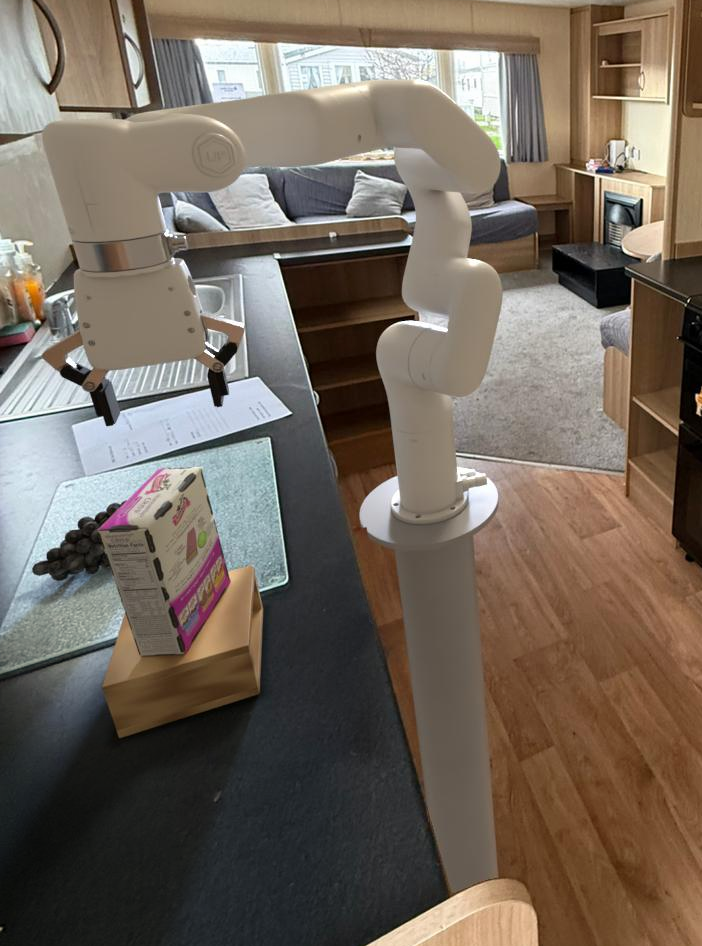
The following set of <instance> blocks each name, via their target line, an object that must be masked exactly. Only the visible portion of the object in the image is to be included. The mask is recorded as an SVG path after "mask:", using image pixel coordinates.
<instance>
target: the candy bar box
mask: <svg viewBox="0 0 702 946" xmlns="http://www.w3.org/2000/svg"><path fill="white" fill-rule="evenodd" d="M126 500H127V501H126V502H125V503H124V504H123V505H122V506H121V507H120V508H119V509H118V510H117V511H116V512H115V513H114V514H113V515H112V516H111V517H110V518H109V519H108V520H107V521H106V522H105V523H104V524H103V525H102V526H101V527H100V528H99V529H98V530H97V531H98V533H99V536H100V539H101V542H102V545H103V548H104V551H105V554H106V557H107V560H108V563H109V566H110V567H109V569H110V571H111V575H112V578H113V581H114V584H115V586H116V588H117V592H118V595H119V598H120V601H121V602H120V603H121V604H122V607H123V610H124V614H125V613H126V616H127V619H128V622H129V625H130V628H131V631H132V634H133V637H134V640H135V643H136V646H137V649H138V652H139V655H140V656H141V657H154V656H163V655H181V654H185V653H186V652H187V651H188V649H189V648H190V646H191V645H192V643H193V641H194V640H195V638H196V637H197V635H198V633H199V632H200V630H201V628H202V627H203V625H204V624H205V622H206V620H207V619H208V617H209V615H210V614H211V612H212V611H213V609H214V608H215V606H216V604H217V603H218V601H219V600H220V598H221V597H222V595H223V593H224V592H225V590H226V589H227V587H228V586H229V584H230V582H231V580H230V578H229V574H228V571H229V569H228V566H227V562H226V558H225V554H224V551H223V546H222V543H221V540H220V535H219V531H218V527H217V524H216V520H215V519H216V518H215V514H214V511H213V508H212V503H211V500H210V496H209V492H208V489H207V484H206V481H205V477H204V473H203V467H202V466H189V467H188V466H187V467H173V468H172V467H162V468H158V469H157V470H156V471H154V473H152V475H151V476H150V477H149V478H148V479H147V480H146V481H144V483H143V484H142V485H141V486H140V487H139V488H138V489H136V491H135V492H134V493H133V494H132V495H131V496H130V497H129V498H128V499H126Z"/></svg>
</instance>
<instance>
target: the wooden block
mask: <svg viewBox="0 0 702 946" xmlns="http://www.w3.org/2000/svg"><path fill="white" fill-rule="evenodd" d="M228 574H229V578H230V580H231V582H230V584H229V586H228V587H227V589H226V590H225V592H224V593H223V595H222V597H221V598H220V600H219V601H218V603H217V604H216V606H215V608H214V609H213V611H212V612H211V614H210V615H209V617H208V619H207V620H206V622H205V624H204V625H203V627H202V628H201V630H200V632H199V633H198V635H197V637H196V638H195V640H194V641H193V643H192V645H191V646H190V648H189V649H188V651H187V652H186V653H185V654H181V655H163V656H154V657H141V656H140V655H139V652H138V649H137V646H136V643H135V640H134V637H133V634H132V631H131V628H130V625H129V622H128V619H127V616H126V613H125V612H124V615H123V617H122V621H121V625H120V628H119V631H118V634H117V638H116V640H115V644H114V647H113V651H112V653H111V656H110V657H111V658H110V660H109V663H108V667H107V669H106V673H105V676H104V679H103V682H102V685H101V689H102V691H103V695H104V698H105V700H106V704H107V707H108V710H109V713H110V716H111V718H112V721H113V724H114V727H115V730H116V733H117V736H118V738H119V739H122V738H125V737H128V736H131V735H134V734H138V733H140V732H144V731H147V730H150V729H153V728H156V727H159V726H162V725H165V724H169V723H172V722H175V721H178V720H182V719H185V718H187V717H188V718H189V717H191V716H194V715H197V714H200V713H204V712H206V711H210V710H212V709H216V708H219V707H222V706H225V705H228V704H233V703H235V702H238V701H241V700H245V699H248V698H250V697H251V698H252V697H253V696H257V695H260V692H261V691H260V690H261V673H262V672H261V671H262V670H261V668H262V644H263V626H264V625H263V622H264V607H263V602H262V598H261V593H260V588H259V583H258V579H257V575H256V569H255V565H253V564H252V565H248V566H244V567H240V568H235V569H232V570H228Z"/></svg>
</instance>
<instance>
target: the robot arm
mask: <svg viewBox="0 0 702 946" xmlns="http://www.w3.org/2000/svg"><path fill="white" fill-rule="evenodd" d="M41 140H42V145H43V148H44V152H45V155H46V159H47V162H48V165H49V168H50V172H51V175H52V178H53V182H54V185H55V189H56V192H57V196H58V199H59V203H60V205H61V209H62V212H63V217H64V219H65V222H66V226H67V229H68V232H69V236H70V239H71V242H72V246H73V249H74V252H75V255H76V256H75V257H76V259H77V263H78V266H79V268H78V269H76V270H75V271H74V273H73V293H74V302H75V310H76V315H77V321H78V326H79V327H78V328H79V329H77V330H75V331H73V332H72V333H70V334H69V335H67V336H66V337H64V338H62V339H61V340H59V341H57V342H56V343H53V344H52V345H50V346H48V347H47V348H46V349H45V350H43V352H42V353H41V358H42V360H43V361H45V362H46V363H47V364H48V365H49V366H50V367H52V368H53V369H54V370H55V371H57V372H58V373H59V375H60V376H61V378H63V379H65V380H67V381H70V382H71V383H73V384H76V385H78V386H79V387H81V388H82V391H84V392H87V393H89V396H90V399H91V402H92V405H93V409H94V411H95V414H96V417H97V418H100V417H102V418H103V421H104V424H105V427H113V426H114V425H116V423H117V422H118V419H119V417H120V415H121V409H120V406H119V402H118V399H117V396H116V392H115V389H114V387H113V386H114V385H113V383H112V380H110V379H109V378H106V376H107V374H108V373H109V372H112V371H114V372H115V371H122V370H128V369H135V368H144V367H149V366H151V367H152V366H156V365H163V364H172V363H176V362H177V363H179V362H182V361H183V362H184V361H189V360H193V359H194V360H196V361H197V362H198V363H200V364H202V366H204V367H207V368H208V370H207V374H206V377H207V381H208V386H209V391H210V394H211V398H212V402H213V405H214V407H215V408H223V406H224V399H225V396H229V395H230V388H229V383H228V379H227V374H226V370H225V367H226V366H227V365H228V363H229V362H230V361H231V360H232V359H233V358H234V356H235V355H236V354H237V353H238V350H239V347H240V344H241V341H242V340H243V337H244V334H245V330H246V326H245V323H242V322H239V321H236V320H232V319H228V318H225V317H221V316H217V315H215V314H210V313H207V312H204V309H203V306H202V302H201V300H200V297H199V292H198V289H197V288H196V285H195V282H194V279H193V277H192V275H191V272H190V270H189V267H188V266H187V264H186V262H185V260H184V259H183V258H179V257H176V258H175V257H174V256H175V255H176V253H180V252H181V251H188V250H189V245H188V244H189V243H188V240H187V237H186V236H177V235H173V233H170V231H169V229H168V228H167V225H166V221H165V216H164V213H163V208H162V204H161V200H160V196H159V195H160V194H164V193H165V194H167V193H169V194H170V193H196V194H200V193H203V194H204V193H213V192H217V191H221V190H223V189H226V188H228V187H230V186H231V185H232V184H234V183H235V182H236V181H237V180H238V179H239V178H240V177H241V175H242V173H243V172H244V169H246V168H247V169H248V168H300V167H301V168H302V167H310V166H317V165H319V166H320V165H324V164H327V163H330V162H331V163H332V162H335V161H340V160H341V159H345V158H349V157H353V156H358V155H361V154H366V153H371V152H375V151H378V150H379V151H380V150H383V149H384V150H385V149H393V148H394V149H393V161H394V165H395V168H396V171H397V174H398V175H399V177H400V178H401V180H402V182H403V183H404V185H405V187H406V189H407V190H408V192H409V194H410V196H411V199H412V203H413V206H414V209H415V210H414V211H415V222H414V223H415V224H414V229H413V234H412V238H411V244H410V248H409V252H408V257H407V261H406V264H405V270H404V273H403V277H402V283H401V286H402V287H401V297H402V301H403V302H404V303H405V305H406V306H407V307H408V308H409V309H411V310H413V311H414V312H418V313H420V314H424V315H427V316H431V317H436V318H441V319H445V320H448V321H447V328H445V327H442V326H439V325H438V326H437V325H433V324H430V323H425V322H420V321H414V320H405V321H398V322H396V323H393V324H392V325H390V326H388V327H387V328H386V329H385V330H384V331H383V332H382V333H381V335H380V336H379V338H378V341H377V343H376V344H377V345H376V350H375V357H376V363H377V368H378V371H379V375H380V377H381V379H382V383H383V385H384V389H385V393H386V397H387V402H388V408H389V417H390V424H391V425H390V426H391V434H392V441H393V442H392V443H393V450H394V458H395V460H394V461H395V469H396V476H397V477H398V485H399V490H398V491H397V492H396V493H395V494H394V495H393V497H392V499H391V510H392V513H393V515H394V516H395V517H396V518H397V519H399V520H401V521H403V522H406V523H410V524H419V525H424V524H433V523H438V522H441V521H445V520H447V519H449V518H452V517H453V516H455V515H457V514H458V513H459V512H461V511H462V510H463V509H464V508H465V506H466V505H467V503H468V499H469V494H468V491H469V488H473V487H479V486H483V485H487V478H488V477H487V474H486V473H481V474H480V475H476V472H477V471H476V470H475V469H470V471H467V472H463V473H461V471H460V472H458V469H457V467H458V463H457V453H456V452H457V451H456V439H455V427H454V411H453V405H452V400H451V399H452V398H451V397H455V398H464V397H468V396H469V395H471V394H473V393H474V392H475V391H476V390H477V389H478V388H479V387H480V386H481V384H482V383H483V381H484V379H485V375H486V373H487V371H488V366H489V363H490V358H491V356H492V350H493V345H494V341H495V337H496V333H497V328H498V325H499V320H500V315H501V311H502V305H503V285H502V281H501V278H500V276H499V274H498V272H497V271H496V269H495V268H494V267H493V266H492V265H491V264H489V263H487V262H485V261H482V260H479V259H473V258H468V256H469V249H470V243H471V237H472V231H473V225H472V224H473V222H472V216H471V213H470V209H469V208H468V205H467V203H466V201H465V199H464V197H463V195H462V194H467V195H468V194H470V195H476V194H483V193H485V192H488V191H489V190H490V189H491V188H492V187H494V186H495V184H496V183H497V182H498V180H499V177H500V175H501V174H500V173H501V165H502V164H501V157H500V152H499V150H498V148H497V145H496V144H495V142H494V141H493V139H492V137H490V135H489V134H488V133H487V132H486V131H485V129H484V128H482V127H481V126H480V125H479V124H478V123H477V122H476V121H475V120H474V119H473V118H472V117H471V116H470V115H469V114H468V113H467V112H466V111H465V110H464V109H462V107H461V106H460V105H459V104H458V103H456V102H455V101H454V100H453V99H452V98H451V97H450V96H449V95H448V94H447V93H445V92H444V91H442V90H441V89H440V88H438V87H437V86H436V85H434V84H432V83H430V82H428V81H426V80H424V79H423V80H422V79H418V78H417V79H415V78H413V79H412V78H410V79H409V78H408V79H405V78H404V79H403V78H401V79H370V80H369V79H368V80H362V81H355V82H348V83H341V84H340V83H339V84H333V85H327V86H326V85H325V86H320V87H319V86H318V87H313V88H312V87H311V88H305V89H297V90H291V91H289V90H288V91H283V92H275V93H270V94H269V93H268V94H264V95H263V94H262V95H258V96H252V97H248V98H240V99H235V100H227V101H217V102H210V103H200V104H194V105H187V106H179V107H172V108H171V107H170V108H164V109H157V110H150V111H144V112H138V113H136V114H133V115H130V116H129V117H127V118H125V119H121V118H77V119H76V118H73V119H71V118H70V119H61V120H54V121H51V122H49V123H47V124H45V126H44V127H43V128H42V133H41ZM209 330H212V331H215V332H219V333H222V334H225V335H227V339H226V342H225V343H224V344H223V345H222V346H221V347H220V348H219V349H217V348H215V347H213V346H212V345H211V344H209V341H210V332H209ZM81 346H83V349H84V353H85V356H86V359H87V361H88V363H89V365H90V366H91V367H92V369H90V368H88V367H86V366H84V365H83V364H80V363H79V362H75V361H73V360H72V358H70V356H69V354H70V353H71V352H73V351H74V350H77V349H78V348H80V347H81ZM475 471H476V472H475ZM486 477H487V478H486Z"/></svg>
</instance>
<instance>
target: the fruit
mask: <svg viewBox="0 0 702 946" xmlns="http://www.w3.org/2000/svg"><path fill="white" fill-rule="evenodd" d="M127 500H128V499H126V500H124V501H121V503H119V502H113V503H111V504H109V505H108V506H107V508H106V509H105V510H103V511H100V512H98V513H96V515H94V518H93V517H91V516H83V517H80V519H78V521H77V525H76V526H77V528H78V529H70V530H69V531H67V532H66V533H65V535H64V540H62V541H61V542H60V543H59V547H53V548H50V549H49V550H48V551H47V552H46V555H45V557H46V560H39V561H38V562H36V563H34V564H33V566H32V567H31V573H32V574H33V575H35V576H37V577H41V576H45V575H47V574H49V575H50V577H51V579H53V580H54V581H58V582H62V581H64V580H67V578H68V577H69V575H70V576H74V575H75V576H76V575H78V574H81V573H83V572H85V574H87V575H95V574H97V573H98V572H99V570H100V567H101V568H102V569H110V566H109V563H108V560H107V557H106V554H105V551H104V548H103V545H102V542H101V539H100V536H99V533H98V531H97V530H98V529H99V528H100V527H101V526H102V525H103V524H104V523H105V522H106V521H107V520H108V519H109V518H110V517H111V516H112V515H113V514H114V513H115V512H116V511H117V510H118V509H119V508H120V507H121V506H122V505H123V504H124V503H125V502H126V501H127Z"/></svg>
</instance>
